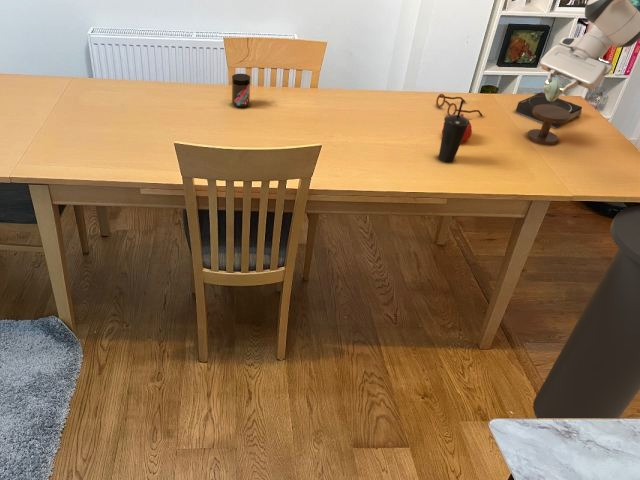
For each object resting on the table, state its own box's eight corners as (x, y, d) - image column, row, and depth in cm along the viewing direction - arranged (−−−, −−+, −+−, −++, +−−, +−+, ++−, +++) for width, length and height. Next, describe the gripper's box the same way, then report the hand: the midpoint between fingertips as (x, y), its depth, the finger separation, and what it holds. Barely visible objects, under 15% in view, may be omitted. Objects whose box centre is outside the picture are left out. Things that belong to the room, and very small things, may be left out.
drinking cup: (460, 165, 188) (478, 106, 175) (437, 164, 188) (453, 105, 175) (454, 154, 194) (471, 95, 181) (431, 153, 194) (446, 94, 181)
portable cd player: (556, 128, 212) (560, 118, 209) (515, 112, 222) (518, 102, 219) (579, 117, 220) (583, 107, 217) (538, 102, 230) (541, 92, 227)
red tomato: (457, 130, 208) (465, 105, 202) (474, 143, 201) (482, 117, 195) (434, 134, 205) (440, 108, 199) (450, 147, 198) (457, 121, 192)
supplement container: (230, 107, 215) (230, 79, 208) (233, 100, 220) (233, 72, 213) (248, 109, 215) (249, 81, 208) (250, 102, 220) (251, 74, 213)
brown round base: (567, 142, 204) (578, 115, 197) (543, 149, 199) (554, 121, 193) (539, 128, 212) (550, 101, 205) (516, 134, 207) (526, 107, 200)
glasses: (434, 104, 224) (437, 92, 221) (464, 102, 227) (468, 89, 224) (451, 119, 215) (455, 106, 211) (482, 116, 217) (486, 103, 214)
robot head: (539, 103, 186) (546, 82, 181) (535, 98, 189) (542, 77, 184) (564, 104, 186) (572, 83, 181) (560, 99, 189) (567, 78, 184)
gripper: (617, 70, 177) (583, 106, 180) (562, 48, 190) (531, 82, 193) (614, 57, 172) (579, 95, 175) (558, 35, 186) (526, 71, 188)
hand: (553, 88), depth 184 cm, fingers closed on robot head, 4 cm apart
